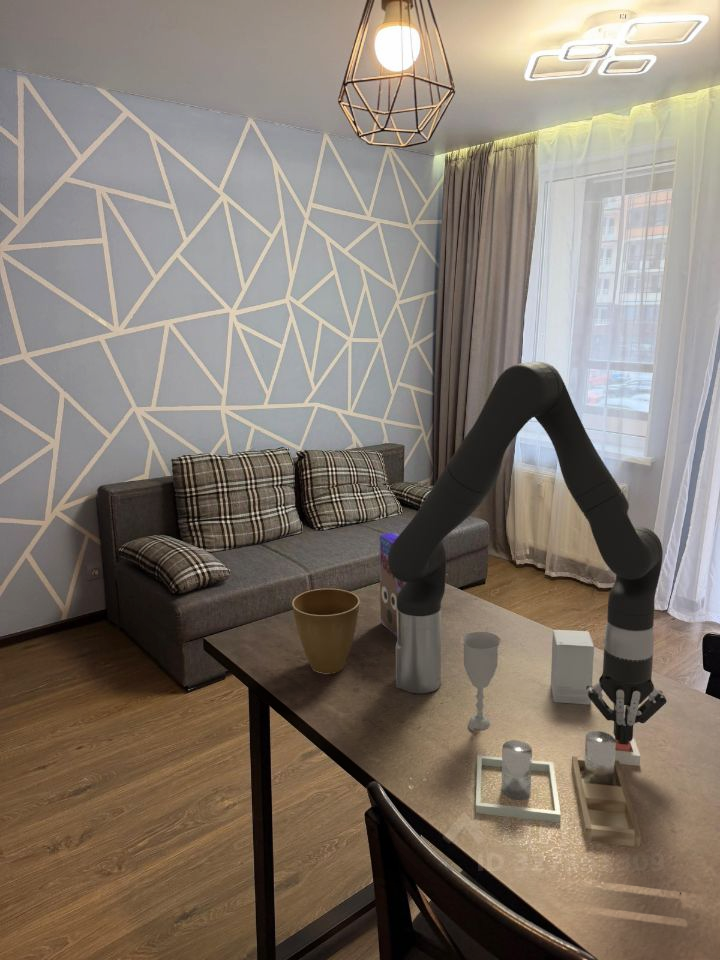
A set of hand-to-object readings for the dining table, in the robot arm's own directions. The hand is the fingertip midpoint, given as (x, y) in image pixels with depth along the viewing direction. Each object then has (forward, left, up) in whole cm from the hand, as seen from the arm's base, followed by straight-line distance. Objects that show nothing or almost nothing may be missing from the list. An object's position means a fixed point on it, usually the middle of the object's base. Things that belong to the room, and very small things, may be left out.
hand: (622, 741), depth 112 cm
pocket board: (-5, -13, -4) cm, 14 cm away
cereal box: (-43, +44, -4) cm, 62 cm away
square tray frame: (-18, -12, -4) cm, 22 cm away
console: (0, 0, -4) cm, 4 cm away
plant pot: (-58, +25, -4) cm, 63 cm away
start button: (0, 0, -2) cm, 2 cm away
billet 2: (-5, -8, -3) cm, 10 cm away
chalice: (-24, +6, -4) cm, 25 cm away
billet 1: (-18, -12, -3) cm, 22 cm away
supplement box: (-6, +21, -4) cm, 22 cm away
